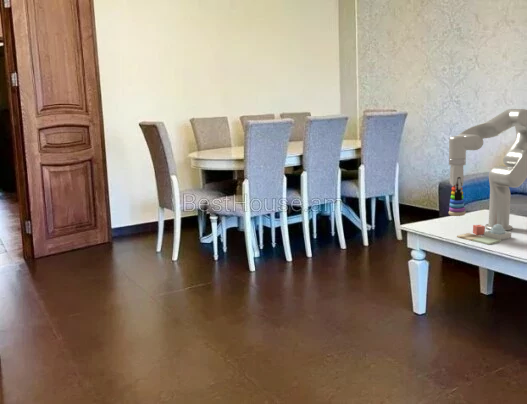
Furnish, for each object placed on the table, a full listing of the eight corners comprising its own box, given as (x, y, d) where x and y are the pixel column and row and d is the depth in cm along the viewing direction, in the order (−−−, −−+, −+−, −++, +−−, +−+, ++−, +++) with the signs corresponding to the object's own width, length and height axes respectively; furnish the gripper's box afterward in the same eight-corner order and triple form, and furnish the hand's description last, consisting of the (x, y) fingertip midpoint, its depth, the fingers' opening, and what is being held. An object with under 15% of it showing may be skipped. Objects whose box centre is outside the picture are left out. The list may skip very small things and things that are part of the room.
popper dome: (488, 234, 259) (488, 223, 258) (495, 232, 262) (496, 222, 261) (499, 237, 254) (499, 226, 253) (507, 235, 257) (507, 224, 256)
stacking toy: (444, 214, 267) (444, 177, 264) (456, 212, 271) (456, 175, 267) (457, 217, 260) (457, 178, 257) (469, 214, 264) (469, 176, 260)
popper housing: (483, 237, 259) (484, 231, 259) (494, 234, 264) (495, 229, 263) (499, 240, 252) (500, 235, 252) (511, 237, 257) (511, 232, 256)
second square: (472, 241, 253) (472, 239, 253) (484, 238, 257) (484, 236, 257) (488, 244, 246) (488, 243, 246) (500, 241, 250) (500, 240, 250)
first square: (456, 237, 260) (456, 235, 260) (468, 234, 265) (468, 233, 265) (471, 240, 253) (472, 239, 253) (483, 238, 258) (483, 236, 258)
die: (472, 232, 268) (473, 224, 267) (480, 232, 268) (481, 223, 267) (476, 234, 264) (477, 226, 263) (484, 234, 264) (485, 225, 263)
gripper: (446, 159, 269) (446, 195, 273) (452, 164, 252) (451, 202, 256) (462, 159, 268) (461, 195, 271) (469, 164, 251) (468, 202, 255)
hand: (456, 198), depth 264 cm, fingers closed on stacking toy, 5 cm apart
